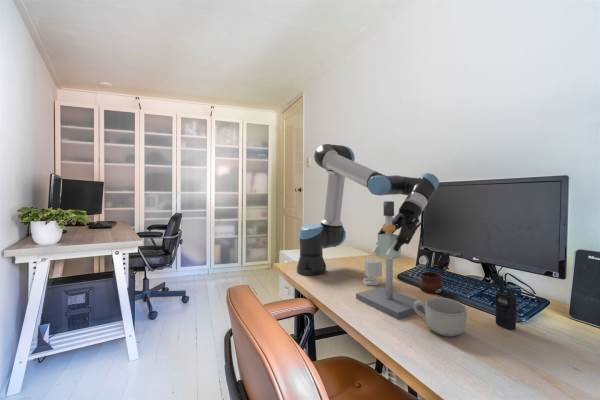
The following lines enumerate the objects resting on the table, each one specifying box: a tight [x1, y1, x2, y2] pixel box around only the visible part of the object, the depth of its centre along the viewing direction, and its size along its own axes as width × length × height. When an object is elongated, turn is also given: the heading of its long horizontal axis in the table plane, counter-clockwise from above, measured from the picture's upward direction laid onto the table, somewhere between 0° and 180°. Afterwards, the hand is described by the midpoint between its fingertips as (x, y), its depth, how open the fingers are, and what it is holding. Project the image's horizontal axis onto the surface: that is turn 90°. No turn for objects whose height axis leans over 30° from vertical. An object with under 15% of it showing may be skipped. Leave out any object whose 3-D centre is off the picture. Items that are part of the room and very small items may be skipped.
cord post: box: [355, 200, 425, 320], centre depth 102 cm, size 20×14×37 cm
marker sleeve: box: [377, 233, 402, 260], centre depth 102 cm, size 6×6×8 cm
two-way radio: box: [494, 275, 518, 330], centre depth 84 cm, size 6×4×15 cm
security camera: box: [362, 258, 383, 286], centre depth 125 cm, size 6×7×10 cm
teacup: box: [413, 296, 468, 338], centre depth 83 cm, size 14×11×8 cm
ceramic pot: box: [418, 271, 444, 295], centre depth 115 cm, size 18×18×7 cm
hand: (381, 255), depth 100 cm, fingers closed on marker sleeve, 6 cm apart
